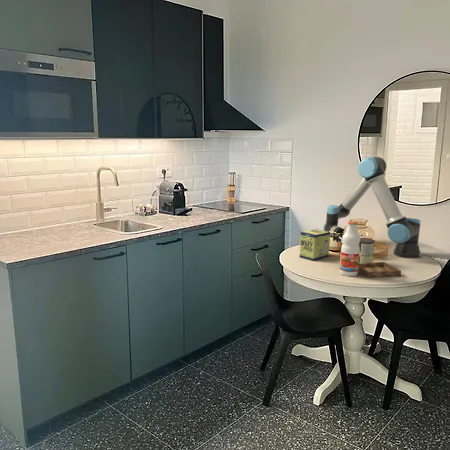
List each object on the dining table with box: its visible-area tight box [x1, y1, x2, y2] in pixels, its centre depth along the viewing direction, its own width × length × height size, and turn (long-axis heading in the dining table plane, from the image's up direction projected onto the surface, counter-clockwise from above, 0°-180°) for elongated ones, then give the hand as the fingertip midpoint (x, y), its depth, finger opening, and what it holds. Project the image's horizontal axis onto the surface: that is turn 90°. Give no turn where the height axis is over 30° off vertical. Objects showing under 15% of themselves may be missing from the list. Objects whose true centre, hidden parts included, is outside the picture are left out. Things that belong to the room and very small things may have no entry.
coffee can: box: [359, 237, 376, 263], centre depth 256 cm, size 10×10×14 cm
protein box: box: [299, 228, 331, 262], centre depth 268 cm, size 10×16×16 cm
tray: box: [358, 261, 402, 279], centre depth 241 cm, size 19×16×3 cm
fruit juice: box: [339, 220, 360, 277], centre depth 236 cm, size 9×9×28 cm
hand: (355, 241), depth 265 cm, fingers open, 13 cm apart
